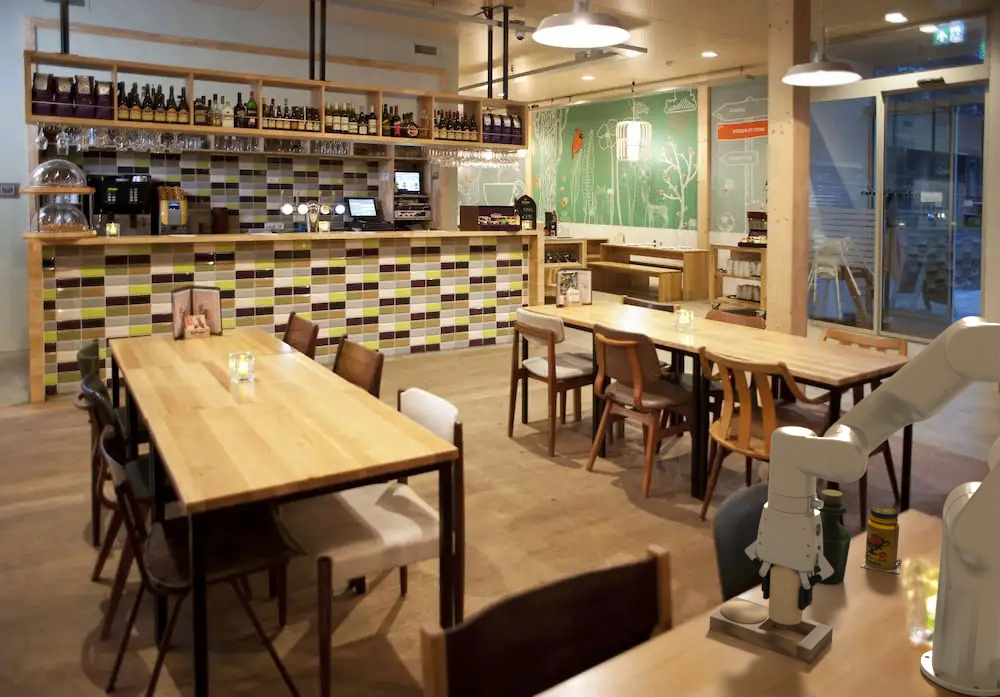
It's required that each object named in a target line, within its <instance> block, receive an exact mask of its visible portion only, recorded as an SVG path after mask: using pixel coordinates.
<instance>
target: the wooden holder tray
mask: <svg viewBox="0 0 1000 697" xmlns="http://www.w3.org/2000/svg"><path fill="white" fill-rule="evenodd" d="M774 627H777V628H781V629H784V630H786V631H790V632H793V633H796V634H799V635H803V636H805V637H804V638H803V639H802V640H801V641H799V640H795V639H791V638H789V637H785V636H782V635H780V634H776V633H773V632H770V631H771V630H772V628H774ZM709 630H712V631H715V632H717V633H720V634H722V635H726V636H728V637H731V638H734V639H736V640H739V641H743V642H745V643H749V644H752V645H754V646H757V647H760V648H763V649H766V650H769V651H771V652H774V653H777V654H780V655H783V656H786V657H789V658H791V659H794V660H797V661H800V662H803V663H806V664H809V665H810V664H811V663H812V662H814V660H815V659H816V658H817V657H818V656H819V655H820V654H821V653H822V651H823V650H825V648H827V647H828V646H829V645H830V644H831V643H832V641H833V634H834V632H833V630H834V627H833V626H830V625H827V624H823V623H820V622H817V621H814V620H811V619H807V618H805V617H802V621H801V622H800V623H798V624H795V625H785V624H780V623H777V622H775V621H773V620H772V619H770V617H769V606H766V605H763V604H761V603H757V602H754V601H751V600H747V599H745V598H741V597H738V596H734V597H733V598H732V599H730V600H729V601H727V602H725V603H723V604H721V606H720V608H718V609H717V610H716V611H714V612H712V614H710V616H709Z"/></svg>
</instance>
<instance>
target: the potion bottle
mask: <svg viewBox="0 0 1000 697" xmlns="http://www.w3.org/2000/svg"><path fill="white" fill-rule="evenodd" d="M821 496H822V499H820V500H821V501H823V502H824V505H823V508H822V509H820V508H817V509H816V510H818V511H819V512H820V516H821V523H822V533H823V555H824V557H825V558H826V560H827V561H828V562H829V564H830V565H831V567H832V568H833V569H834V573H833V574H832V575H831V576H829V577H827V578H825V579H823V580H821V581H820V582H818V584H822V585H828V586H835V585H836V586H837V585H841V583H843V582H844V580H845V575H846V571H847V563H848V557H849V554H850V552H849V551H850V546H851V541H852V534H851V532H850V530H848V528H847V527H845V526H844V525H842V524H840V523H839V520H840V518H841V516H842V515H844V514H846V513H847V512H848V509H847V506H846V504H845V503H844V502H841V501H842V497H843V492H841V491H839V490H835V489H823V490H821ZM813 571H814V575H815V574H817V573H818V572H820V571H821V568H820V567H819V566H818V565H814V570H813Z"/></svg>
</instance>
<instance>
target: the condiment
mask: <svg viewBox="0 0 1000 697" xmlns="http://www.w3.org/2000/svg"><path fill="white" fill-rule="evenodd" d="M898 522H899V512H898V511H897V510H896V509H894V508H892V507H887V506H872V507H871V508H870V514H869V520H868V521H867V526H866V529H867V530H866V541H865V542H866V544H865V551H864V554H863V558H862V560H863V559H866V560H865V563H866V564H862V563H861V565H860V567H862V568H867V569H871V570H875V571H880V572H881V571H882V572H888V573H889V572H890V573H895V574H900V571H901V566H902V560H903V559H902V557H898V550H899V549H898V548H899V538H900V537H899V534H900V525H899V523H898ZM865 553H866V554H865ZM864 557H865V558H864ZM897 559H898V560H897ZM897 562H899V563H897ZM896 563H897V564H898V565H896ZM864 566H865V567H864ZM899 566H900V567H899Z"/></svg>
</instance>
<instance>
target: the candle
mask: <svg viewBox="0 0 1000 697" xmlns="http://www.w3.org/2000/svg"><path fill="white" fill-rule="evenodd" d="M800 587H802V581H801V577H800V574H799V571H797V570H794V569H790V568H786V567H783V566H779V565H774V566H772V567H771V574H770V593H769V599H768V607H769V617H770V619H772V620H773V621H775V622H777V623H780V624H785V625H795V624H798V623H800V622H801V621H802V618H803V611H804V610H803V611H802V610H799V608H798V606H799V589H800Z"/></svg>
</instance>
